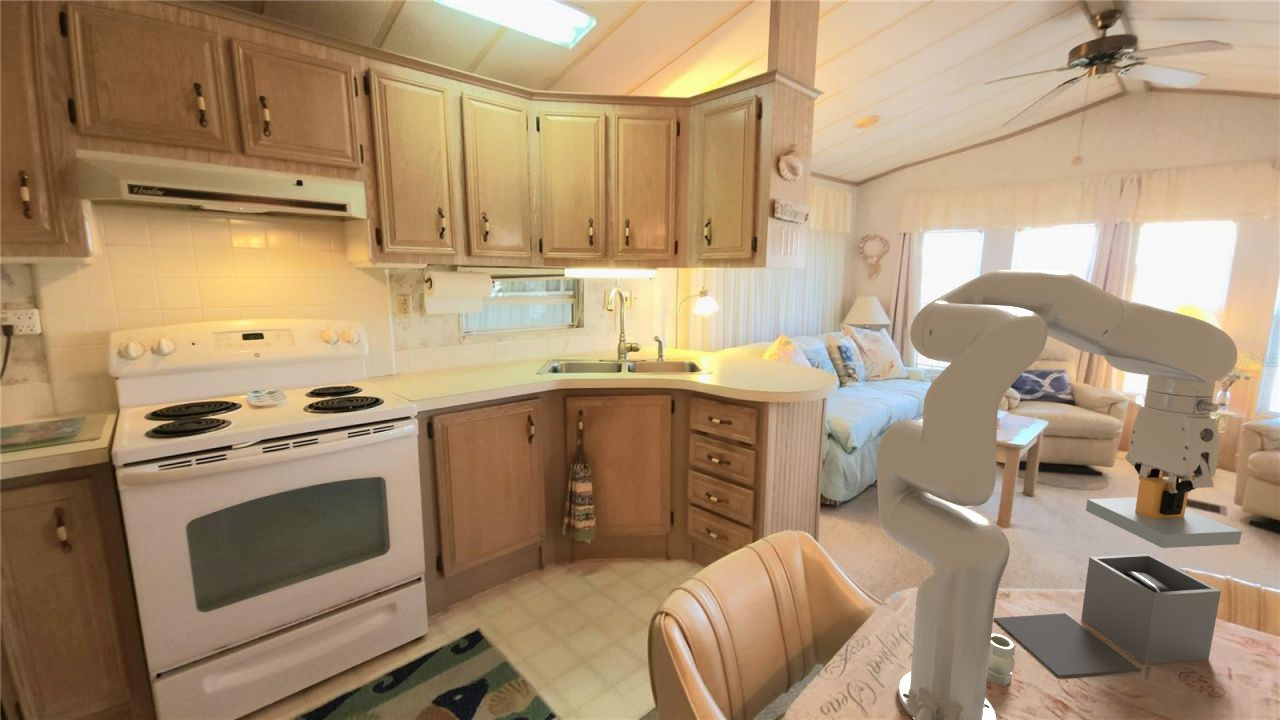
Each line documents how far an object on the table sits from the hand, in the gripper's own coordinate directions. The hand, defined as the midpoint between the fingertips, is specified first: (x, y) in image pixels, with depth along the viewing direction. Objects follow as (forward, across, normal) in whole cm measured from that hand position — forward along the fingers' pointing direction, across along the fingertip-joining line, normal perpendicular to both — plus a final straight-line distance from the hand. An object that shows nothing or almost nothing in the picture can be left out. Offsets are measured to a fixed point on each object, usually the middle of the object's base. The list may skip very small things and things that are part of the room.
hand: (1159, 508), depth 87 cm
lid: (+3, 0, 0) cm, 3 cm away
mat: (+25, 0, +14) cm, 28 cm away
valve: (+25, -2, +30) cm, 39 cm away
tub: (+24, 0, -1) cm, 24 cm away
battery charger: (+25, 0, -1) cm, 25 cm away
